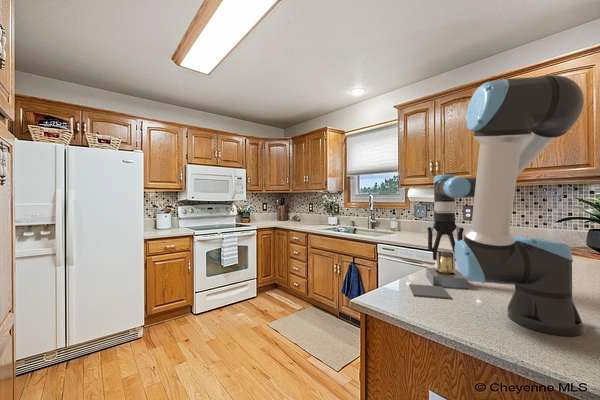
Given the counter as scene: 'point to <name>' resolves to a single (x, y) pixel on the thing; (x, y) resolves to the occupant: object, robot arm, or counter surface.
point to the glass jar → (445, 263)
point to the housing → (446, 279)
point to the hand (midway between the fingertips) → (445, 268)
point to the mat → (429, 291)
